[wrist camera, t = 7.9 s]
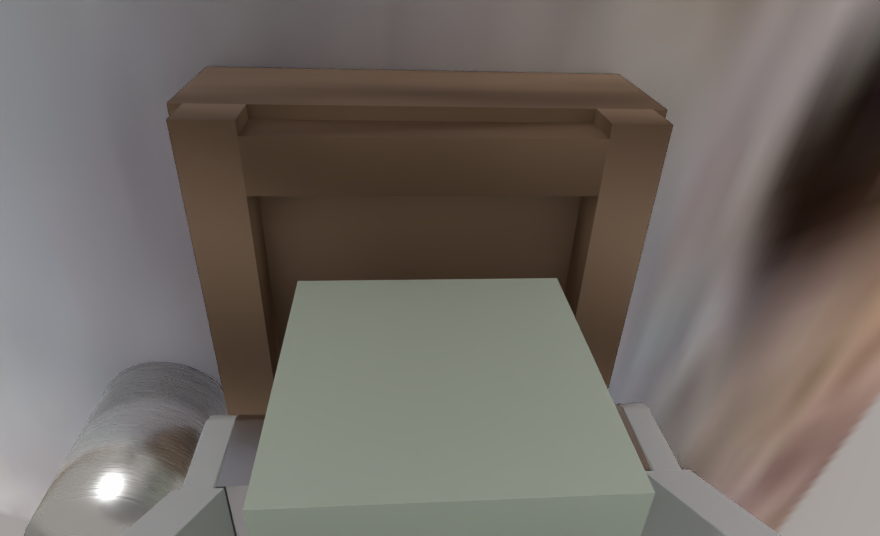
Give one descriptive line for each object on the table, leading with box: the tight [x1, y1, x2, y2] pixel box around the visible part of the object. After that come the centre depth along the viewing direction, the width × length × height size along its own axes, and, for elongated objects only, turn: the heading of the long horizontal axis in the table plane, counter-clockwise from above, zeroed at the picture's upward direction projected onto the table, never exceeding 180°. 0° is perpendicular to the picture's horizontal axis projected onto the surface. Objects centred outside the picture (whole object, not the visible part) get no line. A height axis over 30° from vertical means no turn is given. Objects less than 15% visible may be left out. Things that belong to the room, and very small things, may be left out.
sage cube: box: [243, 278, 655, 536], centre depth 11 cm, size 5×5×5 cm
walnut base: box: [166, 67, 673, 415], centre depth 15 cm, size 10×10×4 cm
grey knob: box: [24, 362, 228, 536], centre depth 17 cm, size 4×4×5 cm
